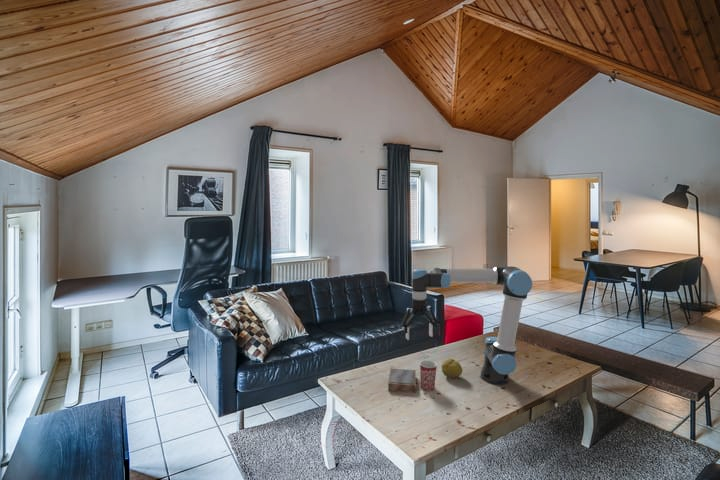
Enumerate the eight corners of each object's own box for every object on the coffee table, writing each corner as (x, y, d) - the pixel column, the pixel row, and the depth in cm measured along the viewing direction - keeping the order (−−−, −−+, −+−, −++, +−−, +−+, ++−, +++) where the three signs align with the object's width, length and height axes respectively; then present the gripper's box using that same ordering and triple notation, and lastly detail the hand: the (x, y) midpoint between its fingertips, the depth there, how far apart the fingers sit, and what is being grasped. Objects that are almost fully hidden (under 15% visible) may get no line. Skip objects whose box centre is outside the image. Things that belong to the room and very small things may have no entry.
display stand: (415, 377, 217) (415, 369, 216) (415, 392, 199) (415, 384, 198) (390, 375, 219) (390, 367, 218) (388, 390, 201) (388, 382, 200)
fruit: (445, 382, 210) (446, 365, 209) (438, 373, 222) (438, 356, 220) (465, 381, 212) (465, 364, 211) (456, 372, 223) (457, 355, 222)
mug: (438, 391, 200) (439, 366, 199) (421, 392, 199) (422, 367, 198) (431, 380, 213) (431, 356, 211) (415, 381, 211) (415, 357, 210)
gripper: (437, 294, 210) (437, 332, 212) (394, 298, 203) (394, 337, 205) (444, 298, 203) (443, 337, 205) (400, 302, 196) (400, 342, 198)
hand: (419, 337), depth 205 cm, fingers open, 13 cm apart
